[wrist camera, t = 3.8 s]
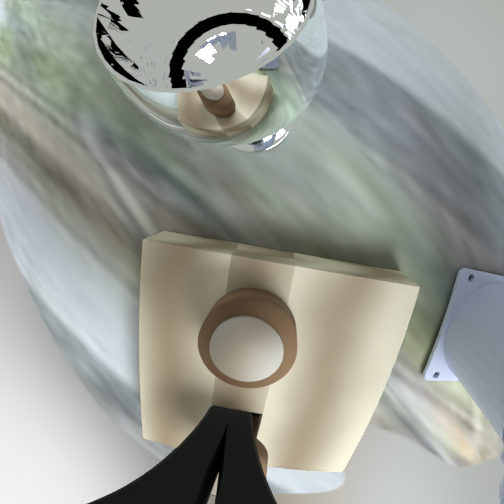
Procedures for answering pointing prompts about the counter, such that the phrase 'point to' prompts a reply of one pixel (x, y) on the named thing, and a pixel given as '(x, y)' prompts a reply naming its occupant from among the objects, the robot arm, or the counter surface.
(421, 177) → the counter surface
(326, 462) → the knob panel
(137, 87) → the wineglass
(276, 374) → the knob
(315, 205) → the counter surface
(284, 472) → the counter surface
